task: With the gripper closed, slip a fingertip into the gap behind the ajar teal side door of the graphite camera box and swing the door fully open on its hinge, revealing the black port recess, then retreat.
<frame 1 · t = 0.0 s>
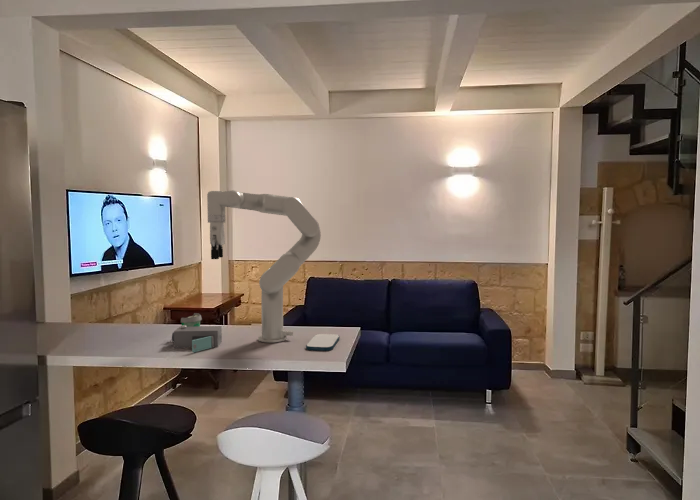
hand: (217, 258, 221), 37 cm above the breakfast bar, tool pointing down, fingers open, 9 cm apart
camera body: (198, 344, 216), on the breakfast bar
side door: (203, 344, 206), point 3 cm above the breakfast bar, hinge at 50.0°
food container: (194, 337, 229), on the breakfast bar
external hard drive: (323, 345, 218), on the breakfast bar
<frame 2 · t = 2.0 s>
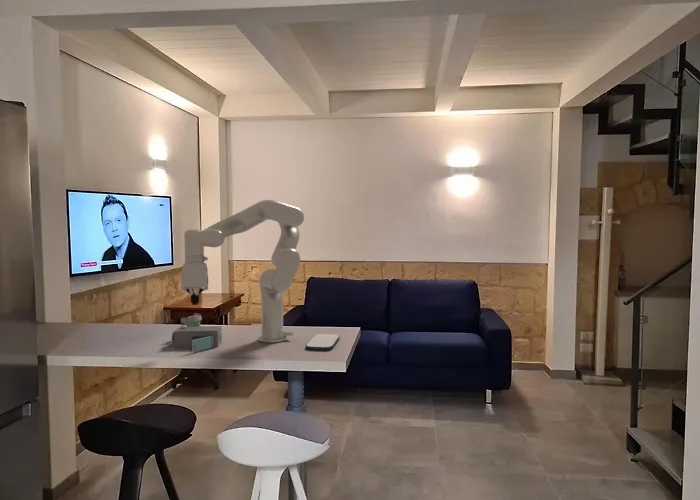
hand: (195, 304, 206), 19 cm above the breakfast bar, tool pointing down, fingers closed
nothing on the breakfast bar moved.
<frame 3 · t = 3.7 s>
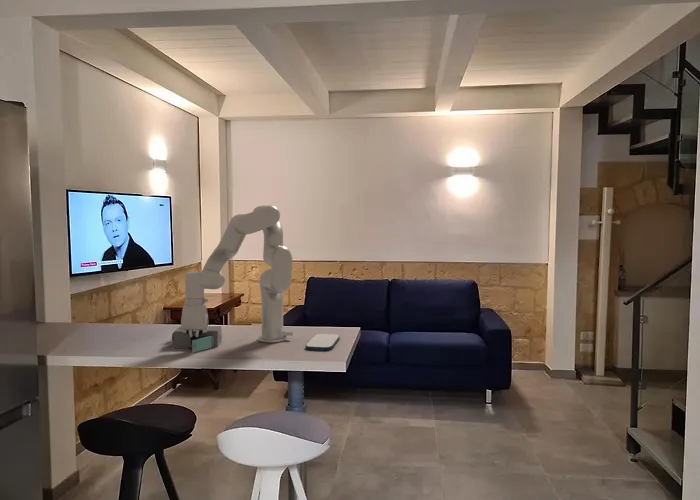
hand: (194, 346, 206), 2 cm above the breakfast bar, tool pointing down, fingers closed
side door: (203, 344, 206), point 3 cm above the breakfast bar, hinge at 50.0°, touching gripper
everything else where it was.
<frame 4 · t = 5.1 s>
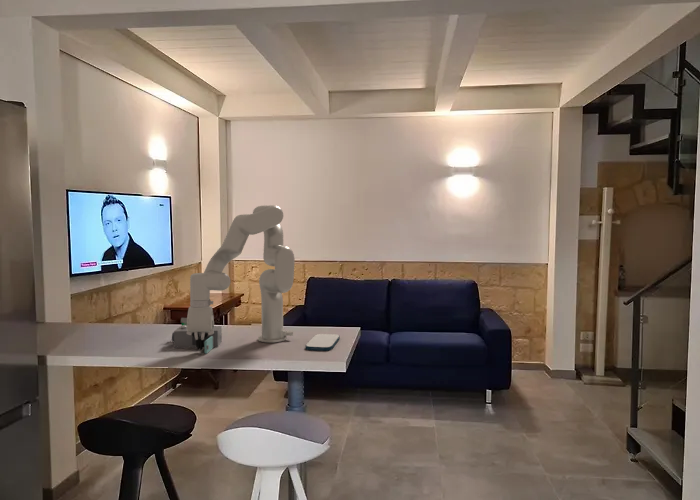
hand: (200, 348, 203), 2 cm above the breakfast bar, tool pointing down, fingers closed
side door: (209, 344, 206), point 3 cm above the breakfast bar, hinge at 85.6°, touching gripper
everything else where it was.
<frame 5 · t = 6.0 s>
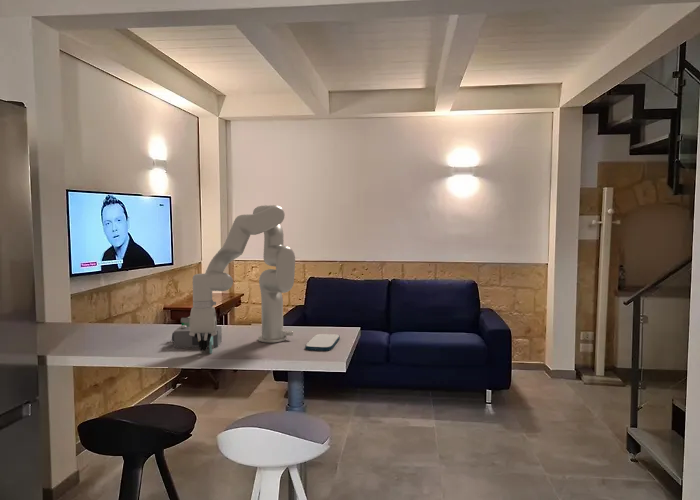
hand: (203, 349, 202), 1 cm above the breakfast bar, tool pointing down, fingers closed
side door: (212, 344, 206), point 3 cm above the breakfast bar, hinge at 97.2°
everything else where it was.
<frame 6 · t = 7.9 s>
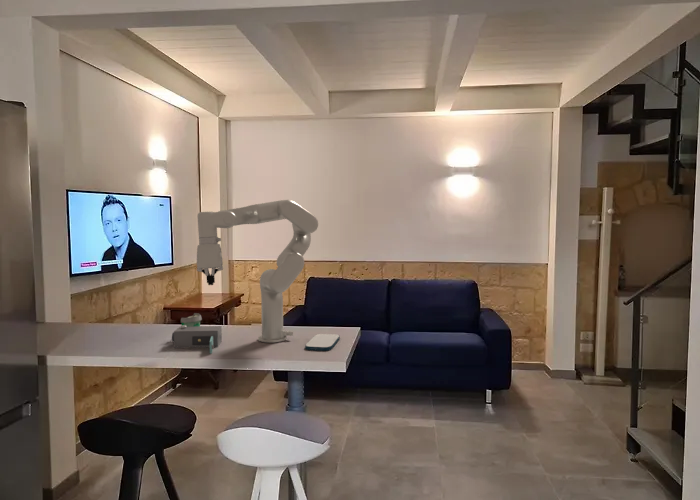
hand: (210, 284, 211), 26 cm above the breakfast bar, tool pointing down, fingers closed
nothing on the breakfast bar moved.
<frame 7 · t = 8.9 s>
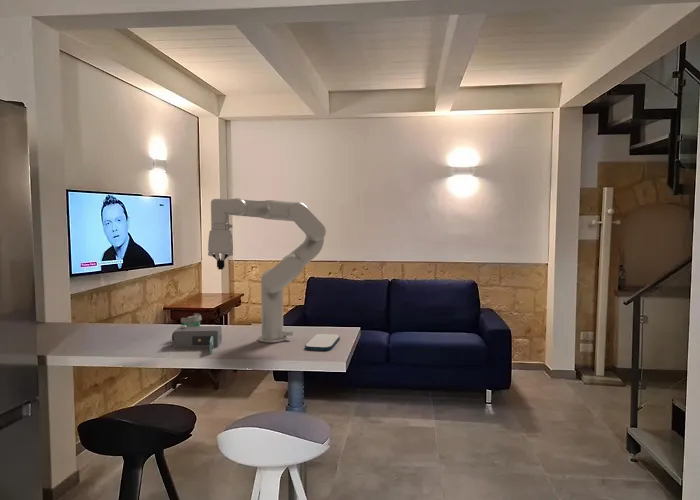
hand: (220, 269, 219), 32 cm above the breakfast bar, tool pointing down, fingers closed
nothing on the breakfast bar moved.
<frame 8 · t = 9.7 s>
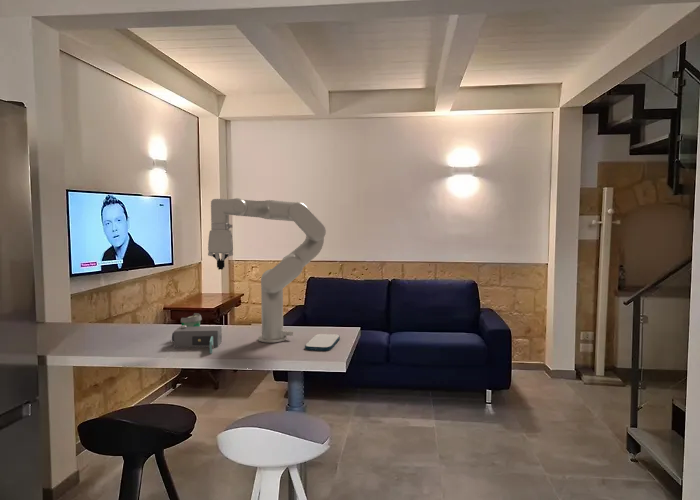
hand: (220, 269, 219), 32 cm above the breakfast bar, tool pointing down, fingers closed
nothing on the breakfast bar moved.
at the end: side door at +97° (first picture: +50°) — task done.
